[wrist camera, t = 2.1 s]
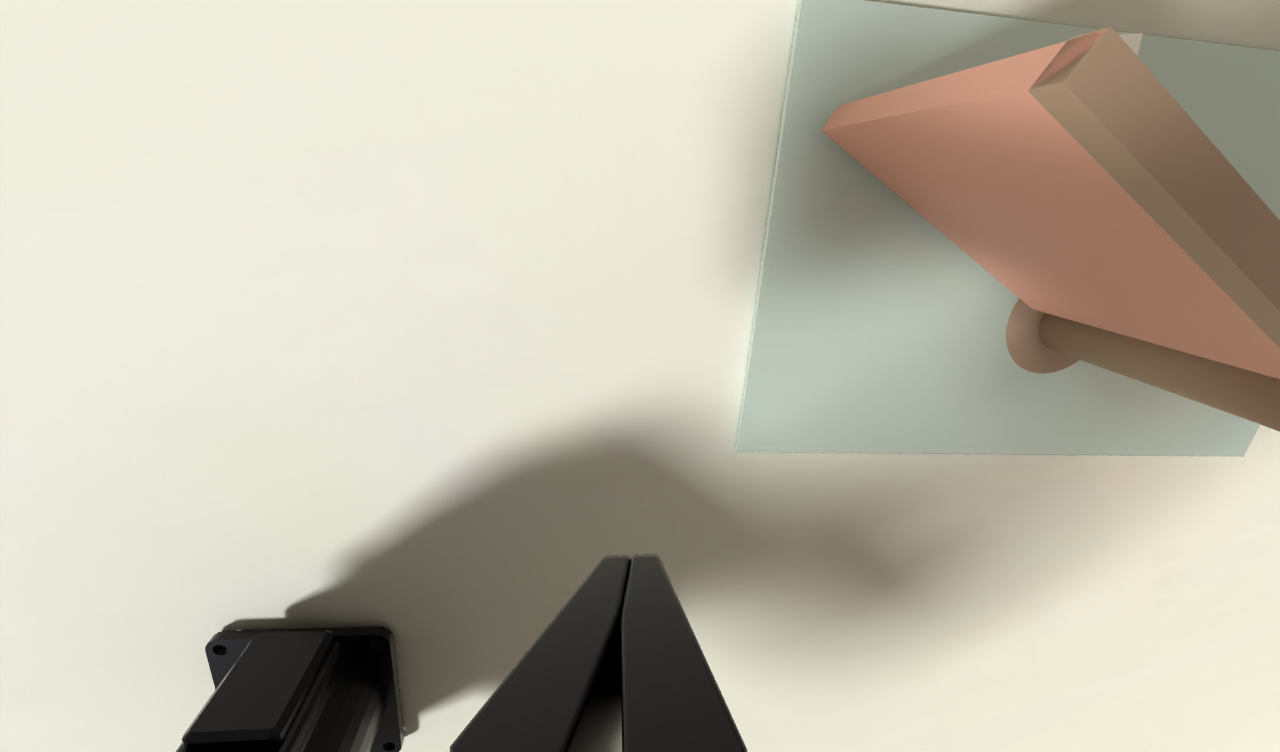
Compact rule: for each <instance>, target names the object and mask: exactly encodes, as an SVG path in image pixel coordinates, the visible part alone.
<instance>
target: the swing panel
mask: <svg viewBox="0 0 1280 752" xmlns="http://www.w3.org/2000/svg"><path fill="white" fill-rule="evenodd" d="M821 131H822V132H823V133H824V134H826V135H827V136H828V137H829V138H830V139H832V140H833V141H834V142H835V143H836V144H837V145H839V146H840V147H841V148H842V149H843V150H845V151H846V152H847V153H848V154H849V155H850V156H852V157H853V158H854V159H855V160H856V161H858V162H859V163H860V164H861V165H862V166H863V167H865V168H866V169H867V170H868V171H869V172H871V173H872V174H873V175H874V176H875V177H876V178H878V179H879V180H880V181H881V182H882V183H884V184H885V185H886V186H887V187H888V188H890V189H891V190H892V191H893V192H894V193H895V194H897V195H898V196H899V197H900V198H901V199H903V200H904V201H905V202H906V203H907V204H908V205H910V206H911V207H912V208H913V209H914V210H916V211H917V212H918V213H919V214H920V215H921V216H923V217H924V218H925V219H926V220H927V221H929V222H930V223H931V224H932V225H933V226H934V227H936V228H937V229H938V230H939V231H940V232H942V233H943V234H944V235H945V236H946V237H947V238H949V239H950V240H951V241H952V242H953V243H955V244H956V245H957V246H958V247H959V248H960V249H962V250H963V251H964V252H965V253H966V254H968V255H969V256H970V257H971V258H972V259H973V260H975V261H976V262H977V263H978V264H979V265H981V266H982V267H983V268H984V269H985V270H987V271H988V272H989V273H990V274H991V275H992V276H994V277H995V278H996V279H997V280H998V281H1000V282H1001V283H1002V284H1003V285H1004V286H1005V287H1007V288H1008V289H1009V290H1010V291H1011V292H1013V293H1014V294H1015V295H1016V296H1017V297H1018V298H1020V299H1021V300H1022V301H1023V302H1024V303H1026V304H1027V305H1028V306H1029V307H1030V308H1031V309H1033V310H1037V311H1041V312H1044V313H1045V314H1044V316H1043V318H1042V320H1041V322H1040V326H1039V337H1040V340H1041V342H1042V343H1043V345H1044V346H1045V347H1047V348H1048V349H1051V350H1054V351H1056V352H1059V353H1062V354H1065V355H1068V356H1070V357H1073V358H1076V359H1079V360H1082V361H1084V362H1087V363H1090V364H1093V365H1096V366H1098V367H1101V368H1104V369H1107V370H1110V371H1112V372H1115V373H1118V374H1121V375H1124V376H1126V377H1129V378H1132V379H1135V380H1138V381H1140V382H1143V383H1146V384H1149V385H1152V386H1154V387H1157V388H1160V389H1163V390H1166V391H1168V392H1171V393H1174V394H1177V395H1179V396H1182V397H1185V398H1188V399H1191V400H1193V401H1196V402H1199V403H1202V404H1205V405H1207V406H1210V407H1213V408H1216V409H1219V410H1221V411H1224V412H1227V413H1230V414H1233V415H1235V416H1238V417H1241V418H1244V419H1247V420H1249V421H1252V422H1255V423H1258V424H1261V425H1263V426H1266V427H1269V428H1272V429H1275V430H1277V431H1280V220H1279V219H1278V218H1277V217H1276V216H1275V214H1274V213H1273V212H1272V211H1271V210H1270V209H1269V207H1268V206H1267V205H1266V204H1265V203H1264V202H1263V201H1262V199H1261V198H1260V197H1259V196H1258V195H1257V194H1256V192H1255V191H1254V190H1253V189H1252V188H1251V187H1250V186H1249V184H1248V183H1247V182H1246V181H1245V180H1244V179H1243V177H1242V176H1241V175H1240V174H1239V173H1238V172H1237V171H1236V169H1235V168H1234V167H1233V166H1232V165H1231V164H1230V162H1229V161H1228V160H1227V159H1226V158H1225V157H1224V156H1223V154H1222V153H1221V152H1220V151H1219V150H1218V149H1217V147H1216V146H1215V145H1214V144H1213V143H1212V142H1211V141H1210V139H1209V138H1208V137H1207V136H1206V135H1205V134H1204V132H1203V131H1202V130H1201V129H1200V128H1199V127H1198V126H1197V124H1196V123H1195V122H1194V121H1193V120H1192V119H1191V117H1190V116H1189V115H1188V114H1187V113H1186V112H1185V111H1184V109H1183V108H1182V107H1181V106H1180V105H1179V104H1178V102H1177V101H1176V100H1175V99H1174V98H1173V97H1172V96H1171V94H1170V93H1169V92H1168V91H1167V90H1166V89H1165V87H1164V86H1163V85H1162V84H1161V83H1160V82H1159V81H1158V79H1157V78H1156V77H1155V76H1154V75H1153V74H1152V72H1151V71H1150V70H1149V69H1148V68H1147V67H1146V66H1145V64H1144V63H1143V62H1142V61H1141V60H1140V59H1139V57H1138V56H1137V55H1136V54H1135V53H1134V52H1133V51H1132V49H1131V48H1130V47H1129V46H1128V45H1127V44H1126V42H1125V41H1124V40H1123V39H1122V38H1121V37H1120V36H1119V34H1118V33H1117V32H1116V31H1115V30H1114V29H1113V27H1112V26H1109V27H1105V28H1102V29H1098V30H1095V31H1091V32H1088V33H1085V34H1081V35H1078V36H1074V37H1071V38H1069V39H1068V40H1067V41H1065V42H1061V43H1058V44H1054V45H1051V46H1047V47H1044V48H1040V49H1037V50H1033V51H1030V52H1026V53H1023V54H1019V55H1016V56H1012V57H1008V58H1005V59H1001V60H998V61H994V62H991V63H987V64H984V65H980V66H977V67H973V68H970V69H966V70H963V71H959V72H956V73H952V74H949V75H945V76H941V77H938V78H934V79H931V80H927V81H924V82H920V83H917V84H913V85H910V86H906V87H903V88H899V89H896V90H892V91H889V92H885V93H881V94H878V95H874V96H871V97H867V98H864V99H860V100H857V101H853V102H850V103H846V104H843V105H839V106H838V107H837V108H836V110H835V111H834V113H833V114H832V115H831V117H830V118H829V120H828V121H827V123H826V124H825V125H824V127H823V128H822V130H821Z"/></svg>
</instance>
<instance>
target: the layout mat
mask: <svg viewBox="0 0 1280 752" xmlns="http://www.w3.org/2000/svg"><path fill="white" fill-rule="evenodd" d="M1095 30H1098V29H1096V28H1088V27H1080V26H1072V25H1063V24H1055V23H1047V22H1039V21H1031V20H1022V19H1014V18H1006V17H998V16H990V15H982V14H973V13H965V12H957V11H949V10H941V9H932V8H924V7H916V6H908V5H900V4H891V3H883V2H875V1H867V0H798V6H797V13H796V20H795V27H794V34H793V41H792V49H791V56H790V63H789V70H788V77H787V84H786V91H785V98H784V105H783V112H782V119H781V126H780V133H779V141H778V148H777V155H776V162H775V169H774V176H773V183H772V190H771V197H770V204H769V211H768V218H767V225H766V233H765V240H764V247H763V254H762V261H761V268H760V275H759V282H758V289H757V296H756V303H755V310H754V317H753V325H752V332H751V339H750V346H749V353H748V360H747V367H746V374H745V381H744V388H743V395H742V402H741V410H740V417H739V424H738V431H737V438H736V445H735V449H736V451H737V452H782V453H897V454H1012V455H1127V456H1242V457H1244V455H1245V453H1246V451H1247V449H1248V447H1249V445H1250V443H1251V441H1252V439H1253V437H1254V435H1255V433H1256V431H1257V429H1258V427H1259V425H1260V424H1258V423H1255V422H1252V421H1249V420H1247V419H1244V418H1241V417H1238V416H1235V415H1233V414H1230V413H1227V412H1224V411H1221V410H1219V409H1216V408H1213V407H1210V406H1207V405H1205V404H1202V403H1199V402H1196V401H1193V400H1191V399H1188V398H1185V397H1182V396H1179V395H1177V394H1174V393H1171V392H1168V391H1166V390H1163V389H1160V388H1157V387H1154V386H1152V385H1149V384H1146V383H1143V382H1140V381H1138V380H1135V379H1132V378H1129V377H1126V376H1124V375H1121V374H1118V373H1115V372H1112V371H1110V370H1107V369H1104V368H1101V367H1098V366H1096V365H1093V364H1090V363H1087V362H1084V361H1082V360H1079V361H1078V362H1076V363H1075V364H1073V365H1071V366H1069V367H1067V368H1065V369H1063V370H1060V371H1057V372H1053V373H1052V372H1051V373H1044V374H1040V373H1033V372H1029V371H1027V370H1025V369H1023V368H1021V367H1020V366H1019V365H1017V364H1016V363H1015V362H1014V360H1013V359H1012V357H1011V354H1010V353H1009V351H1008V348H1007V345H1008V344H1007V343H1006V329H1007V324H1008V320H1009V317H1010V314H1011V312H1012V310H1013V308H1014V306H1015V304H1016V302H1017V301H1018V299H1019V298H1018V297H1017V296H1016V295H1015V294H1014V293H1013V292H1011V291H1010V290H1009V289H1008V288H1007V287H1005V286H1004V285H1003V284H1002V283H1001V282H1000V281H998V280H997V279H996V278H995V277H994V276H992V275H991V274H990V273H989V272H988V271H987V270H985V269H984V268H983V267H982V266H981V265H979V264H978V263H977V262H976V261H975V260H973V259H972V258H971V257H970V256H969V255H968V254H966V253H965V252H964V251H963V250H962V249H960V248H959V247H958V246H957V245H956V244H955V243H953V242H952V241H951V240H950V239H949V238H947V237H946V236H945V235H944V234H943V233H942V232H940V231H939V230H938V229H937V228H936V227H934V226H933V225H932V224H931V223H930V222H929V221H927V220H926V219H925V218H924V217H923V216H921V215H920V214H919V213H918V212H917V211H916V210H914V209H913V208H912V207H911V206H910V205H908V204H907V203H906V202H905V201H904V200H903V199H901V198H900V197H899V196H898V195H897V194H895V193H894V192H893V191H892V190H891V189H890V188H888V187H887V186H886V185H885V184H884V183H882V182H881V181H880V180H879V179H878V178H876V177H875V176H874V175H873V174H872V173H871V172H869V171H868V170H867V169H866V168H865V167H863V166H862V165H861V164H860V163H859V162H858V161H856V160H855V159H854V158H853V157H852V156H850V155H849V154H848V153H847V152H846V151H845V150H843V149H842V148H841V147H840V146H839V145H837V144H836V143H835V142H834V141H833V140H832V139H830V138H829V137H828V136H827V135H826V134H824V133H823V132H822V131H821V130H822V128H823V127H824V125H825V124H826V123H827V121H828V120H829V118H830V117H831V115H832V114H833V113H834V111H835V110H836V108H837V107H838V106H839V105H843V104H846V103H850V102H853V101H857V100H860V99H864V98H867V97H871V96H874V95H878V94H881V93H885V92H889V91H892V90H896V89H899V88H903V87H906V86H910V85H913V84H917V83H920V82H924V81H927V80H931V79H934V78H938V77H941V76H945V75H949V74H952V73H956V72H959V71H963V70H966V69H970V68H973V67H977V66H980V65H984V64H987V63H991V62H994V61H998V60H1001V59H1005V58H1008V57H1012V56H1016V55H1019V54H1023V53H1026V52H1030V51H1033V50H1037V49H1040V48H1044V47H1047V46H1051V45H1054V44H1058V43H1061V42H1065V41H1067V40H1068V39H1069V38H1071V37H1074V36H1078V35H1081V34H1085V33H1088V32H1091V31H1095ZM1116 32H1117V33H1118V34H1119V36H1120V37H1121V38H1122V39H1123V40H1124V41H1125V42H1126V44H1127V45H1128V46H1129V47H1130V48H1131V49H1132V51H1133V52H1134V53H1135V54H1136V55H1137V56H1138V57H1139V59H1140V60H1141V61H1142V62H1143V63H1144V64H1145V66H1146V67H1147V68H1148V69H1149V70H1150V71H1151V72H1152V74H1153V75H1154V76H1155V77H1156V78H1157V79H1158V81H1159V82H1160V83H1161V84H1162V85H1163V86H1164V87H1165V89H1166V90H1167V91H1168V92H1169V93H1170V94H1171V96H1172V97H1173V98H1174V99H1175V100H1176V101H1177V102H1178V104H1179V105H1180V106H1181V107H1182V108H1183V109H1184V111H1185V112H1186V113H1187V114H1188V115H1189V116H1190V117H1191V119H1192V120H1193V121H1194V122H1195V123H1196V124H1197V126H1198V127H1199V128H1200V129H1201V130H1202V131H1203V132H1204V134H1205V135H1206V136H1207V137H1208V138H1209V139H1210V141H1211V142H1212V143H1213V144H1214V145H1215V146H1216V147H1217V149H1218V150H1219V151H1220V152H1221V153H1222V154H1223V156H1224V157H1225V158H1226V159H1227V160H1228V161H1229V162H1230V164H1231V165H1232V166H1233V167H1234V168H1235V169H1236V171H1237V172H1238V173H1239V174H1240V175H1241V176H1242V177H1243V179H1244V180H1245V181H1246V182H1247V183H1248V184H1249V186H1250V187H1251V188H1252V189H1253V190H1254V191H1255V192H1256V194H1257V195H1258V196H1259V197H1260V198H1261V199H1262V201H1263V202H1264V203H1265V204H1266V205H1267V206H1268V207H1269V209H1270V210H1271V211H1272V212H1273V213H1274V214H1275V216H1276V217H1277V218H1278V219H1279V220H1280V51H1277V50H1268V49H1260V48H1252V47H1244V46H1236V45H1227V44H1219V43H1211V42H1203V41H1195V40H1186V39H1178V38H1170V37H1162V36H1154V35H1145V34H1143V33H1129V32H1121V31H1116ZM1026 314H1027V313H1026ZM1021 315H1022V314H1021ZM1022 317H1023V316H1022ZM1034 318H1035V317H1034ZM1041 319H1042V318H1041ZM1039 324H1040V323H1039ZM1038 326H1039V325H1038ZM1025 328H1026V327H1025ZM1008 329H1009V328H1008ZM1022 330H1023V329H1022ZM1027 331H1028V330H1027ZM1033 332H1034V331H1033ZM1035 333H1036V332H1035ZM1025 334H1026V333H1025ZM1010 336H1011V335H1010ZM1035 336H1036V335H1035ZM1038 337H1039V336H1038ZM1029 338H1030V337H1029ZM1033 339H1034V338H1033ZM1037 339H1039V338H1037ZM1030 340H1031V339H1030ZM1036 341H1039V340H1036ZM1021 343H1022V342H1021ZM1029 344H1030V343H1029ZM1031 344H1032V343H1031ZM1034 344H1036V343H1034ZM1023 345H1024V344H1023ZM1037 345H1038V344H1037ZM1037 345H1036V346H1037ZM1030 346H1033V345H1030ZM1036 346H1035V348H1036ZM1040 346H1041V344H1040ZM1008 347H1009V346H1008ZM1026 347H1028V346H1026ZM1042 347H1044V346H1042ZM1032 348H1033V347H1032ZM1045 348H1046V347H1045ZM1024 349H1025V348H1024ZM1026 349H1027V348H1026ZM1037 349H1038V348H1037ZM1037 349H1036V350H1037ZM1042 349H1043V348H1042ZM1047 349H1048V348H1047ZM1011 351H1012V350H1011ZM1042 351H1043V350H1042ZM1046 351H1049V350H1046ZM1018 352H1019V351H1018ZM1022 352H1023V351H1022ZM1026 352H1027V351H1026ZM1039 352H1040V351H1039ZM1053 352H1054V351H1053ZM1027 353H1028V352H1027ZM1044 353H1045V352H1044ZM1048 353H1049V352H1048ZM1051 354H1052V353H1051ZM1055 354H1056V352H1055ZM1058 354H1061V353H1058ZM1029 355H1030V354H1029ZM1044 355H1045V354H1044ZM1044 355H1042V356H1044ZM1061 355H1062V354H1061ZM1061 355H1060V356H1061ZM1022 356H1023V355H1022ZM1039 356H1040V355H1039ZM1016 357H1017V356H1016ZM1036 357H1038V356H1036ZM1046 357H1047V356H1046ZM1046 357H1042V359H1043V358H1046ZM1050 357H1051V356H1050ZM1050 357H1049V358H1050ZM1067 357H1068V356H1067ZM1057 358H1058V357H1057ZM1031 359H1032V358H1031ZM1034 359H1035V358H1034ZM1051 359H1053V358H1051ZM1060 359H1061V358H1060ZM1038 360H1039V359H1038ZM1045 360H1046V359H1045ZM1049 360H1050V359H1049ZM1036 361H1037V360H1036ZM1036 361H1035V362H1036ZM1054 361H1055V360H1054ZM1070 361H1071V360H1070ZM1030 362H1031V361H1030ZM1040 362H1041V360H1040ZM1047 362H1049V363H1052V362H1050V361H1047ZM1056 362H1057V359H1056ZM1020 363H1021V362H1020ZM1042 363H1043V362H1042ZM1031 364H1032V363H1031ZM1031 364H1030V365H1031ZM1038 365H1039V364H1038ZM1049 365H1050V364H1049ZM1041 369H1042V368H1041Z"/></svg>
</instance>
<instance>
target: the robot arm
mask: <svg viewBox="0 0 1280 752" xmlns="http://www.w3.org/2000/svg"><path fill="white" fill-rule="evenodd" d="M376 640H380V641H381V642H379V641H376ZM205 651H206V655H207V659H208V662H209V666H210V670H211V674H212V678H213V682H214V685H215V689H216V690H215V691H214V693H213V694H212V696H211V697H210V698H209V700H208V701H207V703H206V704H205V705H204V707H203V708H202V710H201V711H200V713H199V714H198V715H197V717H196V718H195V720H194V721H193V722H192V724H191V725H190V727H189V728H188V729H187V731H186V732H185V734H184V736H183V738H182V741H183V742H182V744H181V745H180V746H179V748H178V749H177V751H176V752H399V751H400V750H401V747H402V744H403V741H404V729H403V720H402V711H401V702H400V692H399V683H398V674H397V665H396V656H395V647H394V638H393V634H392V632H391V631H390V630H389V629H387V628H385V627H379V626H378V627H346V628H313V629H281V630H248V631H223V632H218V633H217V634H215V635H214V636H213V637H212V639H211V640H210V641H209V642H208V644H207V645H206V647H205ZM450 752H747V748H746V746H745V744H744V742H743V740H742V738H741V735H740V733H739V731H738V729H737V727H736V724H735V722H734V720H733V718H732V716H731V713H730V711H729V709H728V707H727V705H726V702H725V700H724V698H723V696H722V694H721V691H720V689H719V687H718V685H717V683H716V681H715V678H714V676H713V674H712V672H711V670H710V667H709V665H708V663H707V661H706V659H705V656H704V654H703V652H702V650H701V648H700V645H699V643H698V641H697V639H696V637H695V635H694V632H693V630H692V628H691V626H690V624H689V621H688V619H687V617H686V615H685V613H684V610H683V608H682V606H681V604H680V602H679V599H678V597H677V595H676V593H675V591H674V588H673V586H672V584H671V582H670V580H669V578H668V575H667V573H666V571H665V569H664V567H663V564H662V562H661V560H660V558H659V556H658V555H656V554H638V555H634V556H633V557H632V559H631V557H630V556H628V555H608V556H605V557H604V558H603V559H602V560H601V561H600V562H599V564H598V565H597V566H596V567H595V569H594V570H593V571H592V572H591V574H590V575H589V576H588V577H587V578H586V580H585V581H584V582H583V583H582V585H581V586H580V587H579V588H578V590H577V591H576V592H575V593H574V595H573V596H572V597H571V598H570V599H569V601H568V602H567V603H566V604H565V606H564V607H563V608H562V609H561V611H560V612H559V613H558V614H557V615H556V617H555V618H554V619H553V620H552V622H551V623H550V624H549V625H548V627H547V628H546V629H545V630H544V632H543V633H542V634H541V635H540V636H539V638H538V639H537V640H536V641H535V643H534V644H533V645H532V646H531V648H530V649H529V650H528V651H527V652H526V654H525V655H524V656H523V657H522V659H521V660H520V661H519V662H518V664H517V665H516V666H515V667H514V668H513V670H512V671H511V672H510V673H509V675H508V676H507V677H506V678H505V680H504V681H503V682H502V683H501V685H500V686H499V687H498V688H497V689H496V691H495V692H494V693H493V694H492V696H491V697H490V698H489V699H488V701H487V702H486V703H485V704H484V705H483V707H482V708H481V709H480V710H479V712H478V713H477V714H476V715H475V717H474V718H473V719H472V720H471V721H470V723H469V724H468V725H467V726H466V728H465V729H464V730H463V731H462V733H461V734H460V735H459V736H458V738H457V739H456V740H455V741H454V742H453V744H452V745H451V746H450Z"/></svg>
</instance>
